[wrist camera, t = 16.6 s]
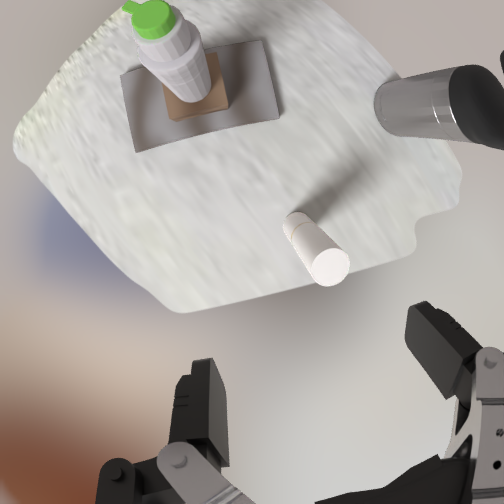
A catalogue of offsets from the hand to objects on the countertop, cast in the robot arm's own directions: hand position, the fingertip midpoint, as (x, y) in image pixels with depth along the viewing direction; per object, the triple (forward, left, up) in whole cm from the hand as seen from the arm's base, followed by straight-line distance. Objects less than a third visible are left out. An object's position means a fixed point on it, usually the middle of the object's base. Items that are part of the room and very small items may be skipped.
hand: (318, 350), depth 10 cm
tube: (-6, +6, -32) cm, 33 cm away
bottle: (+4, -16, -26) cm, 31 cm away
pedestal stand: (+4, -16, -32) cm, 36 cm away
